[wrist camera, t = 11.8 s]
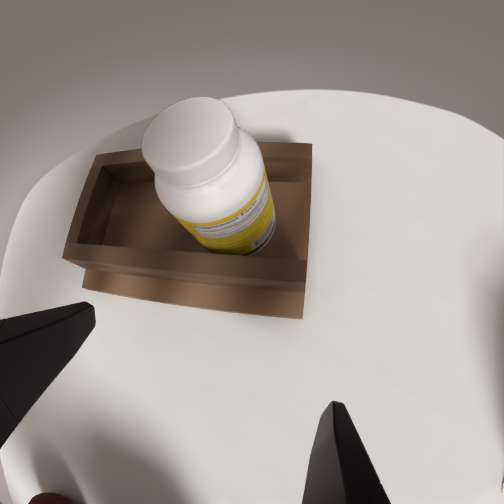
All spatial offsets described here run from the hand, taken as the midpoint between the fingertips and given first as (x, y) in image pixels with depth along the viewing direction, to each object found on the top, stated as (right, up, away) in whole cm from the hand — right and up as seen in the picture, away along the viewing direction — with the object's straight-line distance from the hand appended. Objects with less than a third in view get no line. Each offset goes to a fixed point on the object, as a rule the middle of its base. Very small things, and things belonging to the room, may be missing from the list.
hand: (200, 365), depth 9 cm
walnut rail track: (-3, +6, +12) cm, 14 cm away
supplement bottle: (+1, +6, +11) cm, 12 cm away
